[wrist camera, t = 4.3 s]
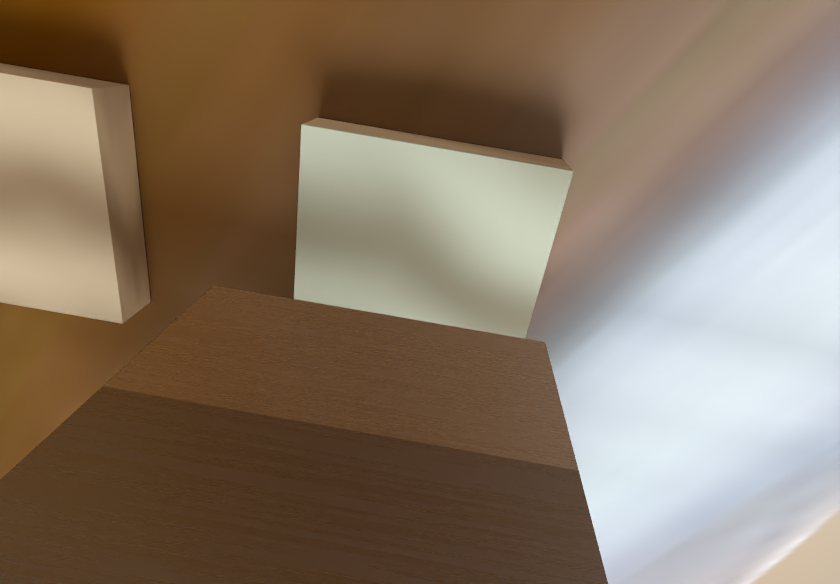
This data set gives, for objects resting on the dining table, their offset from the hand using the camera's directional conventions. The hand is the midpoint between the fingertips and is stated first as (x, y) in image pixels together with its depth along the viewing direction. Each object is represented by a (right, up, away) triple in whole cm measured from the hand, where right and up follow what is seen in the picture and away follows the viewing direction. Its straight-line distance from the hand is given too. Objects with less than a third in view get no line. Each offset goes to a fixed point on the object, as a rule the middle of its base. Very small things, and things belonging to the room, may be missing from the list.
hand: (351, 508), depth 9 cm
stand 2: (+1, +5, +11) cm, 13 cm away
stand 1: (-15, +8, +12) cm, 20 cm away
